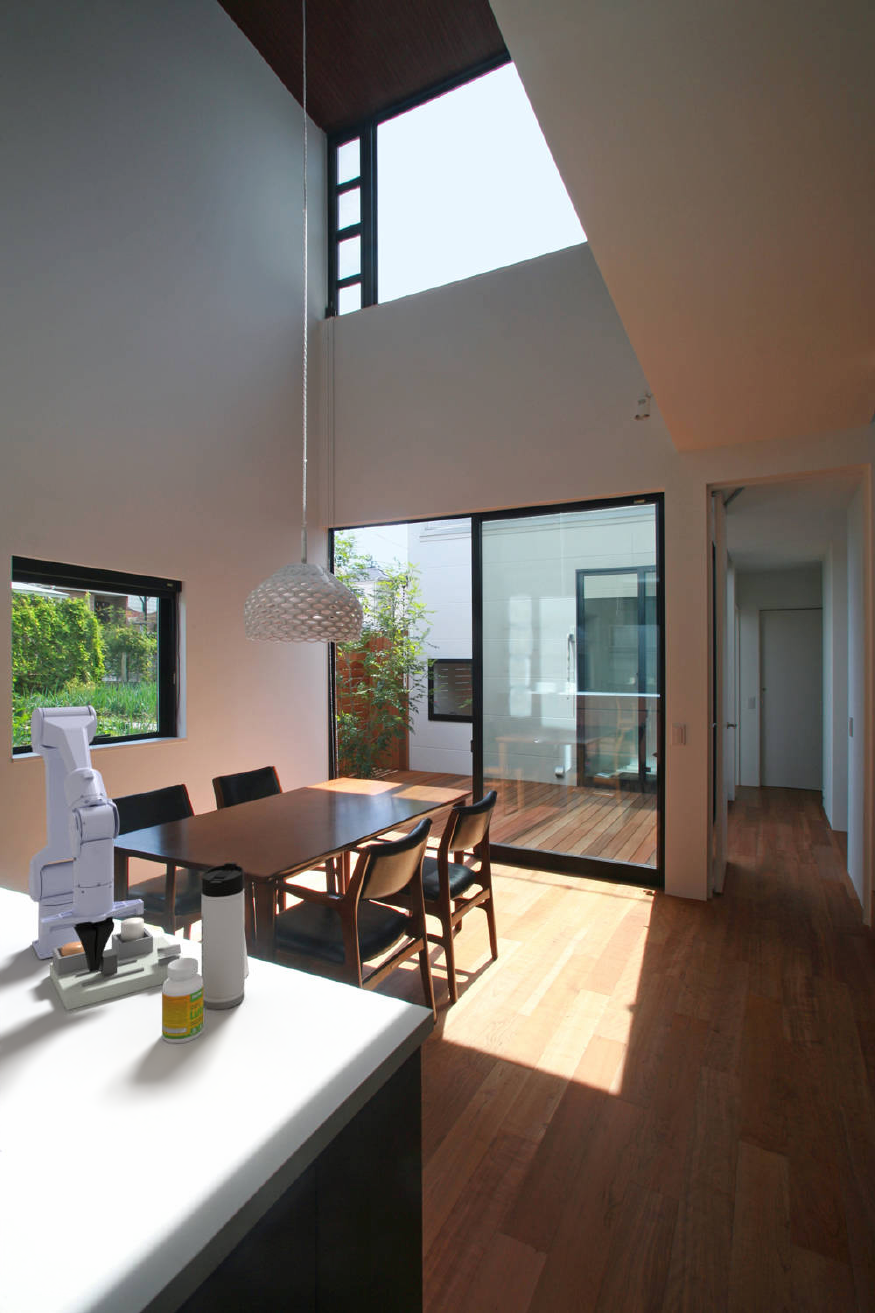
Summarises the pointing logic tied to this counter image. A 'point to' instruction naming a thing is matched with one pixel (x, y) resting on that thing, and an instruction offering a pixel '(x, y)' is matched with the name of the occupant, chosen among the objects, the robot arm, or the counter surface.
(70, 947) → the button orange
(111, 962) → the slider knob
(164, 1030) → the supplement bottle
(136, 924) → the button white
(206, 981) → the travel mug
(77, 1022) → the counter surface
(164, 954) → the rocker
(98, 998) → the panel
